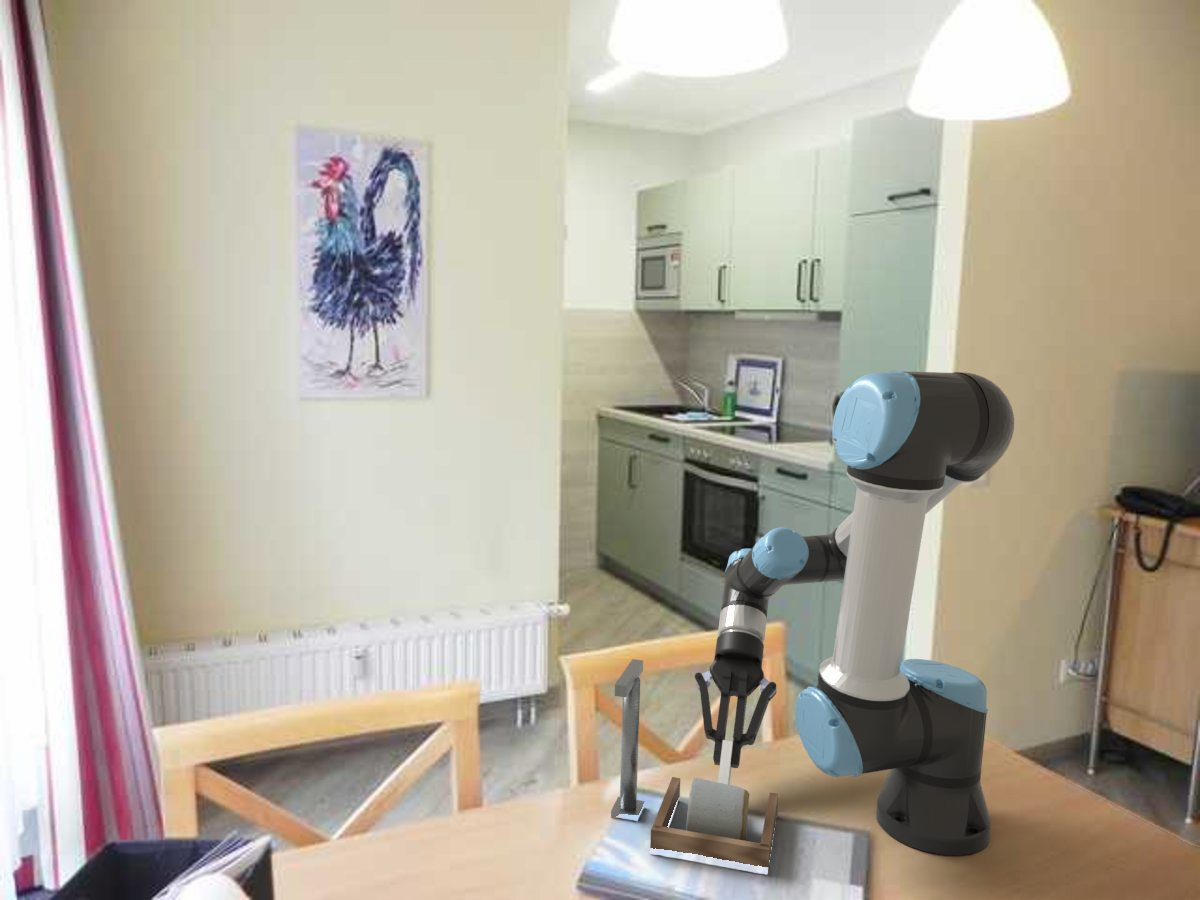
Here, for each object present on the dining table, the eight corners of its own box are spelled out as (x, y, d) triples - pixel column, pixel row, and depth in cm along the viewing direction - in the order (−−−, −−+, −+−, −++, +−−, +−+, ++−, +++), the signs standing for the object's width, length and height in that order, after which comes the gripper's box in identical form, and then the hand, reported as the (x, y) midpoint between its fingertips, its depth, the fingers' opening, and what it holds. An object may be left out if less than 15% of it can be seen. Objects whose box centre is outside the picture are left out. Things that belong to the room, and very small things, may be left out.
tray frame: (776, 816, 126) (778, 793, 126) (767, 875, 112) (769, 850, 112) (671, 799, 130) (672, 776, 130) (650, 854, 116) (650, 829, 116)
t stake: (646, 802, 129) (651, 661, 127) (630, 839, 120) (635, 687, 117) (620, 798, 130) (624, 658, 128) (602, 834, 121) (606, 683, 118)
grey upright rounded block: (746, 855, 116) (749, 800, 116) (684, 847, 118) (686, 793, 117) (748, 815, 127) (750, 764, 126) (691, 808, 128) (693, 758, 128)
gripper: (781, 654, 143) (768, 803, 129) (702, 645, 146) (681, 789, 132) (781, 633, 137) (768, 786, 123) (698, 624, 140) (676, 772, 127)
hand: (723, 787), depth 128 cm, fingers closed
